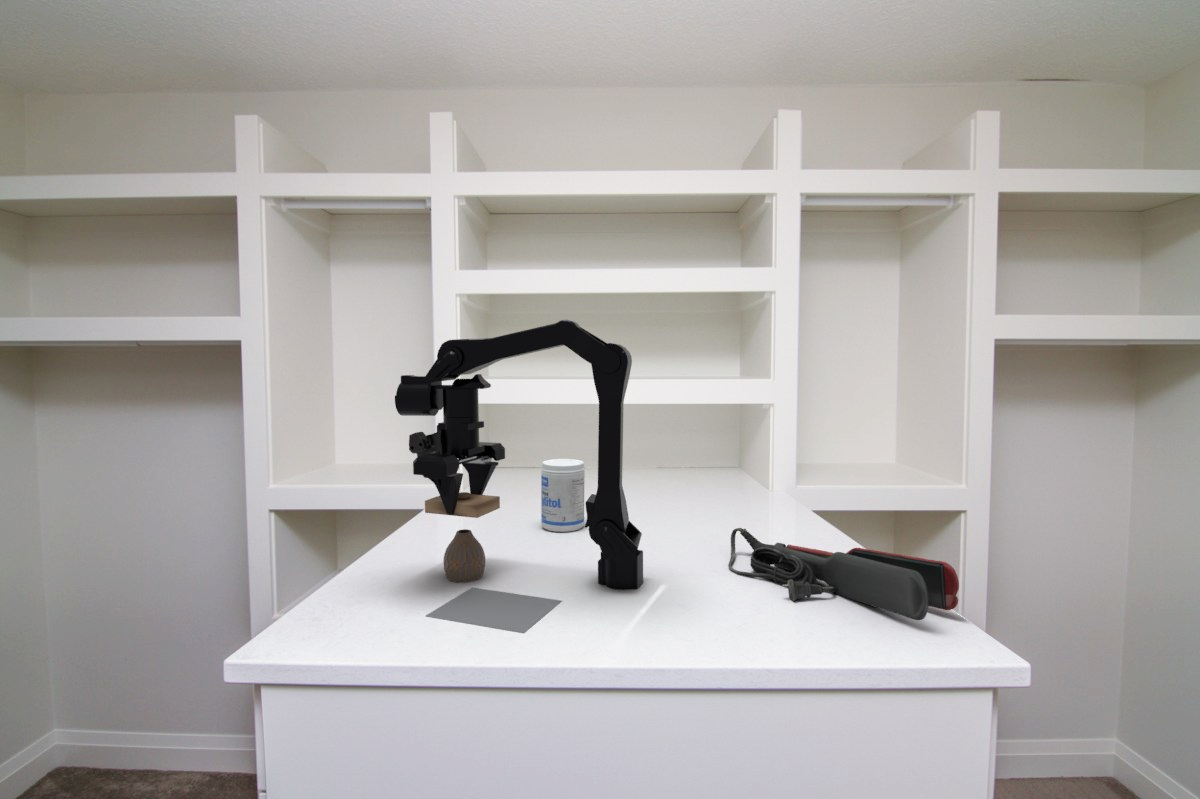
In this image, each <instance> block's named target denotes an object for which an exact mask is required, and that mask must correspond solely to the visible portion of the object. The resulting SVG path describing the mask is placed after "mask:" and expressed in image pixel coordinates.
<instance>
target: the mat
mask: <svg viewBox="0 0 1200 799" xmlns="http://www.w3.org/2000/svg"><path fill="white" fill-rule="evenodd" d="M562 602H563V600H561V599H560V600H559V599H554V598H548V597H547V598H546V597H540V596H533V595H528V594H527V595H526V594H519V593H514V592H507V591H499V590H493V589H485V588H479V587H471V588H468V589H467V590H465V591H464V592H462V593H460V594H459V595H457V596H455V597H454V598H452V599H450V600H449V601H448V602H446V603H444V604H442V605H441V606H439V607H438V608H436V609H434V610H432V611H431V612H429V613H427V614H426V615H425V617H427V618H432V619H437V620H444V621H449V622H455V623H462V624H467V625H472V626H473V625H474V626H478V627H484V628H488V629H496V630H502V631H507V632H514V633H519V634H525V633H527V632H528V631H529V630H530V629H531V628H533V626H535V625H536V624H537V623H538V622H540V621H541V619H543V618H544V617H545V616H546V615H548V614H549V613H550V612H552V610H554V609H555V608H556V607H557V606H558V605H560V604H561V603H562Z"/></svg>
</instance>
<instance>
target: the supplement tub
mask: <svg viewBox="0 0 1200 799" xmlns="http://www.w3.org/2000/svg"><path fill="white" fill-rule="evenodd" d="M540 472H541V476H540V477H541V479H540V480H541V484H540V485H541V486H540V487H541V488H540V489H541V492H540V493H541V497H540V499H541V502H540V503H541V505H540V506H541V509H540V510H541V512H540V513H541V516H540V517H541V519H540V520H541V522H540V523H541V526H542V528H543V529H545V530H546V531H551V532H559V533H567V532H574V531H578V530H580V529H582V528H583V527H584V526H585V477H586V476H585V462H584V461H583V460H580V459H573V458H553V459H547V460H544V461H543V462H542V463H541V471H540Z"/></svg>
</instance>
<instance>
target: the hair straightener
mask: <svg viewBox="0 0 1200 799" xmlns="http://www.w3.org/2000/svg"><path fill="white" fill-rule="evenodd" d="M737 532H739V533H740V535H741V536H742V537H743V538H744V540H746V542H747V544H749V545H750V547H751V549H752V550H753V551H752V552H751V555H750V556H751V557H750V563H749V564H750V567H751V569H752V570H753V571H754V572H748V571H741V570H740V571H739V570H737V569H735V568H733V567H732V565H733V562H734V561H735V558H736V534H737ZM760 541H761V540H758V539H757V538H756V537H754V536H753V534H751V533H750V532H749V531H748V530H746V528H742V527H738V528H734V529H733V530H732V532H731V535H730V558H729V561H728V565H727V566H728V569H729V571H730V572H731V573H733V574H736V575H738V576H742V577H748V578H758V579H759V578H763V579H769V580H772V581H774V582H775V583H777V584H781V586H782V587H785V588H786V587H787V590H788V591H787V592H788V599H789V600H791V601H792V602H795V601H796V600H798V599H800V600H801V599H804V598H805V597H807V598H811V597H812V596H814V595H815V596H816V595H822V594H823V593H835V594H836V595H838V596H840V597H843V598H846V599H849V600H852V601H856V602H859V603H863V604H864V605H865V604H866V605H868V606H871V607H875V608H878V609H879V610H883V611H887V612H891V613H893V614H896V615H899V616H902V617H905V618H908V619H911V620H914V621H922V620H925V618H926V616H927V613H928V611H929V610H928V609H929V607H931V608H935V609H939V610H945V611H952V610H954V609H955V608H956V607H957V605H958V604H959V598H958V596H957V594H958V592H959V588H960V582H959V577H958V574H957V571H956V570H955V568H954V567H953V566H952V565H951V564H949V563H948V562H946V561H942V560H934V559H929V558H928V559H926V558H923V557H918V556H917V557H916V556H911V555H905V554H904V555H902V554H897V553H893V552H892V553H891V552H888V551H880V550H875V549H868V548H864V547H863V548H861V547H853V548H851V549H850V550H848V551H847V552H846V553H845V552H840V551H836V552H831V551H827V550H826V551H825V550H821V549H820V550H819V549H816V548H810V547H809V548H808V547H804V546H800V545H792V544H785V543H782V542H776V543H774V544H768V543H763V542H760ZM773 565H774V566H773ZM783 569H784V570H783ZM786 570H787V571H786ZM789 571H790V572H789ZM818 580H819V581H822V582H824V583H825V584H827V586H822V585H820V584H818Z"/></svg>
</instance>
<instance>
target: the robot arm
mask: <svg viewBox="0 0 1200 799" xmlns="http://www.w3.org/2000/svg"><path fill="white" fill-rule="evenodd" d="M563 346H564V347H566V348H568V349H569V350H570V351H572V352H574V354H576V355H577V356H578V357H581V359H583V360H584V361H585V362H588V363H589V364H590V366H591V370H592V378H593V382H594V387H595V391H596V395H597V400H598V437H597V438H598V443H597V444H598V446H597V448H598V449H597V452H598V453H597V487H596V488H597V490H596V493H595V494H593V493H592V494H590V496H589V497H588V498H587V500H586V501H585V512H586V522H585V523H584V528H585V529H587V528H588V533H589V535H588V536H589V537H590V539H591V540H592V541H593V542H594V543H595V544H596V545H597V546H599V549H600V559H598V560H597V584H599V585H601V586H605V587H607V588H609V589H611V590H615V591H616V590H618V591H627V590H628V591H629V590H638V589H640V587H641V586H642V585H643V584H644V550H639V546H640V542H641V540H642V539H641V538H642V531H640V530H639V529H638V527H636V526H635V524H633V523H632V522H631V521H630V518H629V511H628V505H627V500H626V495H625V491H624V488H623V456H624V455H623V454H624V452H623V446H624V401H625V396H626V392H627V388H628V384H629V380H630V375H631V374H630V373H631V370H632V364H633V363H632V362H633V359H632V355H631V352H630V351H629V350H628V349H627V348H626V347H625V346H623V345H622V344H618V343H612V342H606V341H604V340H603V339H601V338H599V337H598V336H596V335H594V334H592V333H591V332H590V331H587V330H586V329H584V328H583V327H581V326H580V324H578V323H577V322H576V321H573V320H570V319H561V320H559V321H558V322H554V323H551V324H546V325H543V326H537V327H533V328H530V329H525V330H521V331H517V332H512V333H508V334H502V335H499V336H495V337H488V338H465V339H464V338H462V339H460V338H459V339H449V340H446V341H444V342H443V343H441V345H440V347H439V349H438V351H437V356H436V359H435V362H434V363H433V364H432V366H431V367H430V368H429V370H428V372H427V373H426V374H425V375H424V376H421V375H414V374H405V375H401V376H400V383H399V385H398V386H397V388H396V389H397V390H396V394H395V395H394V405H395V410H396V411H397V413H398V415H400V416H404V417H405V416H407V417H408V416H410V417H411V416H412V417H415V416H416V417H417V416H418V417H423V416H424V417H425V416H426V417H433V416H434V417H435V416H436V415H437V414H438V412H439V411H441V410H443V411H442V413H443V414H442V415H443V416H442V417H443V422H438V423H437V425H436V432H434V433H431V434H425V432H423V431H418V432H417V431H416V432H414V433H411V434H409V436H408V437H409V438H408V450H409V452H410V453H411V454H413V455H414V454H416V458H415V459H414V460H413V461H412V474H413V475H416V476H422V477H423V478H425V479H426V478H427V479H428V480H430V481H431V482H432V483H433V484H434V485H435V488H436V490H437V491H438V495H439V496H440V497H441V500H442V502H443V505H444V507H445V510H446V513H447V514H449V515H448V516H453V515H452V514H454V511H455V508H456V504H457V500H458V495H459V493H460V491H461V487H462V486H461V485H462V482H463V477H464V473H462V472H461V473H459V472H458V471H459V469H460V465H462V467H463V469H464V470H466V472H467V475H468V482H469V485H468V486H469V493H470V494H477V495H484V492H485V490H486V488H487V486H488V483H489V481H490V479H491V477H492V475H493V473H494V472H495V470H496V468H497V466H499V462H500V461H502V460H504V459H506V448H505V447H504V446H503V444H502V443H501V442H487V441H486V442H485V441H484V442H483V441H480V429H482V428H485V421H483V420H479V418H480V416H479V413H480V412H479V410H480V409H479V390H483V389H490V388H492V384H491V383H490V382H488V380H486V379H485V378H484V377H483V376H482V374H481V373H476V372H478V371H481V370H483V369H486V368H488V367H490V366H491V365H493V364H495V363H497V362H499V361H502V360H507V359H511V358H515V357H520V356H524V355H528V354H533V353H536V352H537V353H538V352H541V351H546V350H551V349H554V348H559V347H563ZM474 373H476V374H474ZM471 374H474V376H473V377H472V378H460V376H463V375H464V376H465V375H471ZM445 381H453V382H452V384H443V383H442V382H445ZM492 459H493V460H494V461H492Z"/></svg>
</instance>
